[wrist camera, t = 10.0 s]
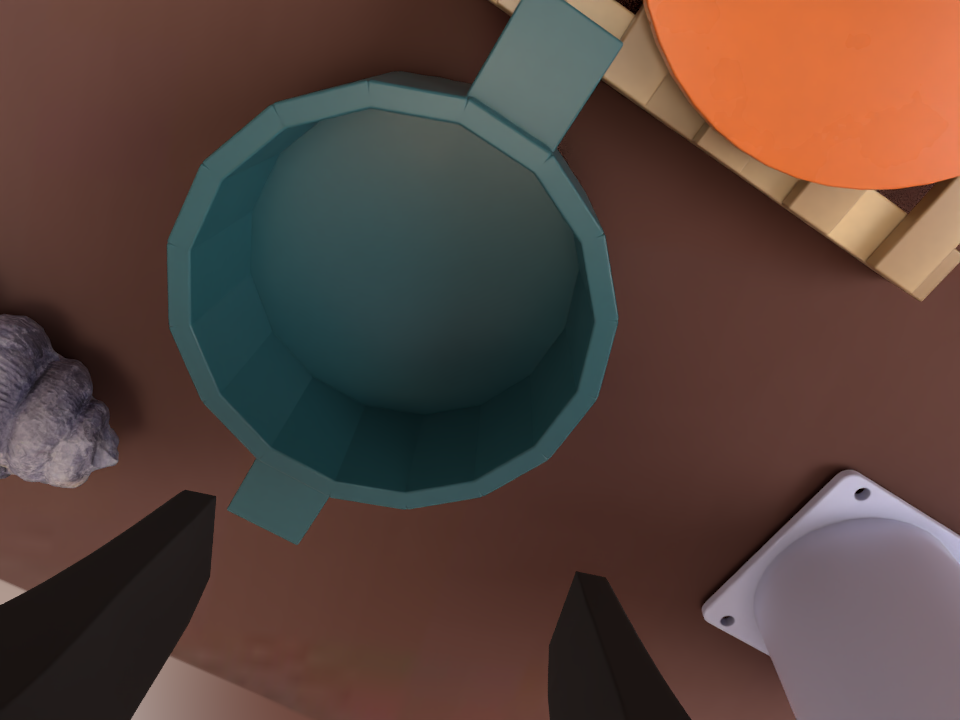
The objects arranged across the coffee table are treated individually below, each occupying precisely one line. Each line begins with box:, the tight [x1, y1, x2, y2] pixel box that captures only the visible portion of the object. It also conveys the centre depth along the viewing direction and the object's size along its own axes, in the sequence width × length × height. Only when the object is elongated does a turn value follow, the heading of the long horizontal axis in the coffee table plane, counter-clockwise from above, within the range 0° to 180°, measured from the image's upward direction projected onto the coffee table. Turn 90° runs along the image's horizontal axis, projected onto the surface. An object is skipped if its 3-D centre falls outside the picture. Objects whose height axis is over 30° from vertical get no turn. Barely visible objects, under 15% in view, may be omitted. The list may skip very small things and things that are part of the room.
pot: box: [167, 0, 623, 545], centre depth 20 cm, size 11×17×5 cm
